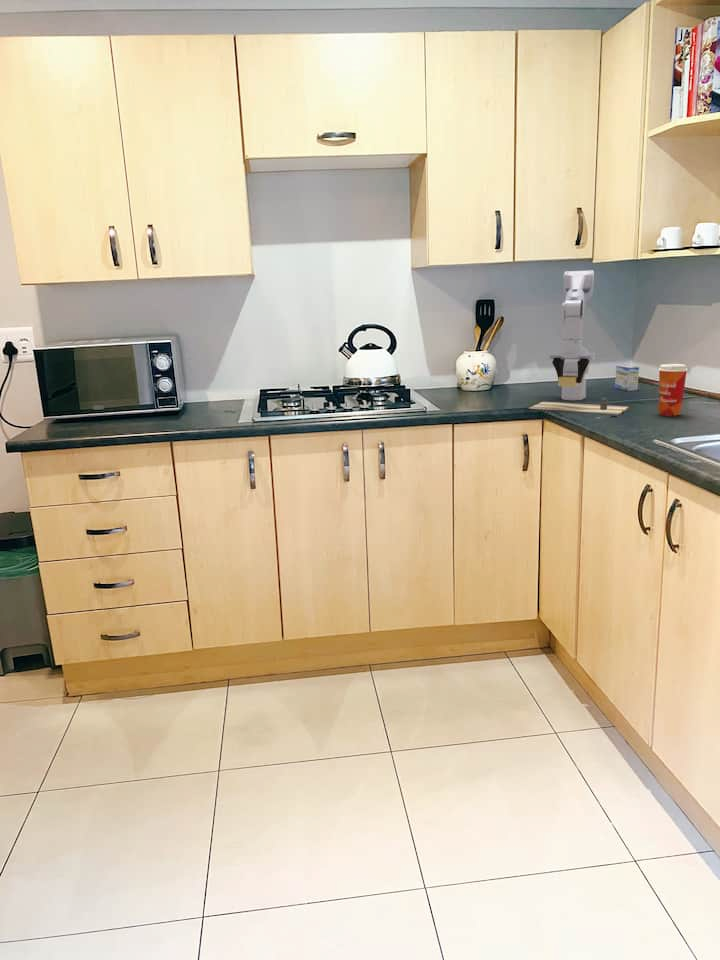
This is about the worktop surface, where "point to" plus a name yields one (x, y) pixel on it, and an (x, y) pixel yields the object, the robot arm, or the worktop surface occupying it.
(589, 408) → the keeper board
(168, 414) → the worktop surface
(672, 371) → the coffee cup
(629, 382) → the medicine box
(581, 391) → the robot arm
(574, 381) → the brass link
